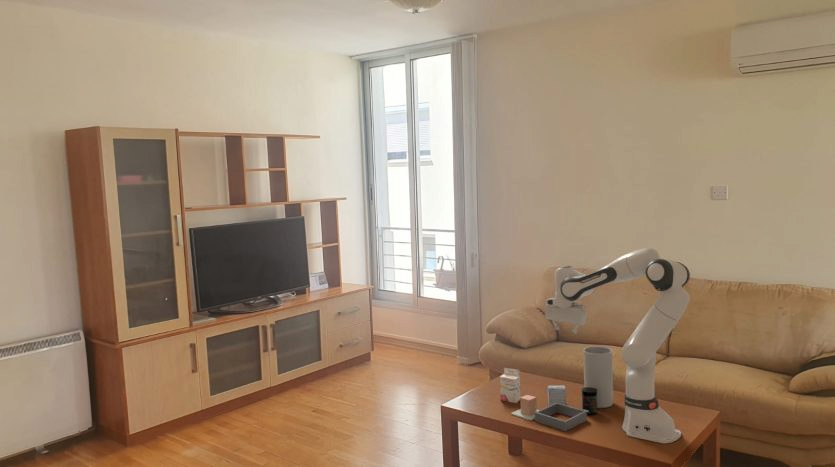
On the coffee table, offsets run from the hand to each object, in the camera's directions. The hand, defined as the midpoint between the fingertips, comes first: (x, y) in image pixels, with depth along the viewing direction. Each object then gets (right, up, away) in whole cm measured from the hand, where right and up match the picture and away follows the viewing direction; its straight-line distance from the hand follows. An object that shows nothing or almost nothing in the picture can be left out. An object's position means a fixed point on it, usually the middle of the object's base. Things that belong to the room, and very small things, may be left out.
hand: (565, 331), depth 281 cm
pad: (-18, -36, -6) cm, 40 cm away
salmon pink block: (-18, -35, -7) cm, 40 cm away
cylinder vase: (+16, -34, +2) cm, 37 cm away
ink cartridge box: (-23, -35, +12) cm, 43 cm away
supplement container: (+9, -35, -8) cm, 37 cm away
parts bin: (-6, -36, -16) cm, 40 cm away
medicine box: (-3, -35, +3) cm, 35 cm away
